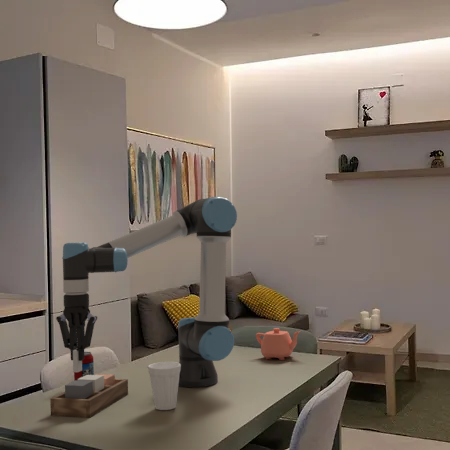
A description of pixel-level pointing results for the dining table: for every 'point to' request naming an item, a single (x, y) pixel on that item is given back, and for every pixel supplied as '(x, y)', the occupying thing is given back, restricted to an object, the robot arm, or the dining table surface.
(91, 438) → the dining table surface
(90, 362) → the beverage can
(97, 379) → the white square block
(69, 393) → the grey square block
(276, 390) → the dining table surface
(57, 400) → the wooden tray
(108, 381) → the salmon pink square block
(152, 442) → the dining table surface
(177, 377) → the cup
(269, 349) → the teapot
